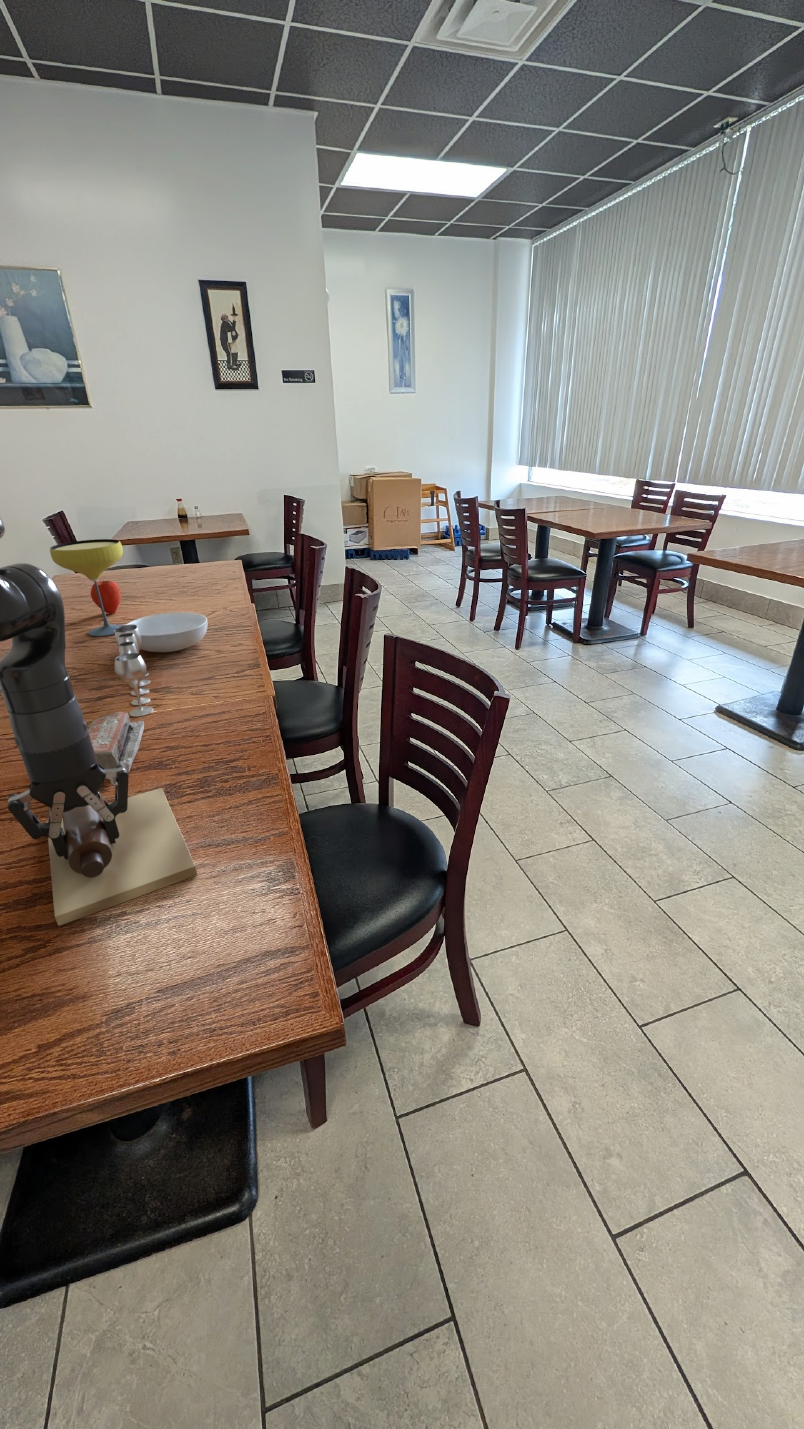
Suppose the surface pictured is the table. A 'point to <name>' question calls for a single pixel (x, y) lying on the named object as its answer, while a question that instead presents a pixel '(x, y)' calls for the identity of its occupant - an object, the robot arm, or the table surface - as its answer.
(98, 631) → the cocktail glass
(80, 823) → the rolling pin
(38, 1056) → the table surface
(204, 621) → the serving bowl
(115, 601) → the apple
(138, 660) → the goblet set
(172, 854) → the pastry board
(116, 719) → the packaged product
